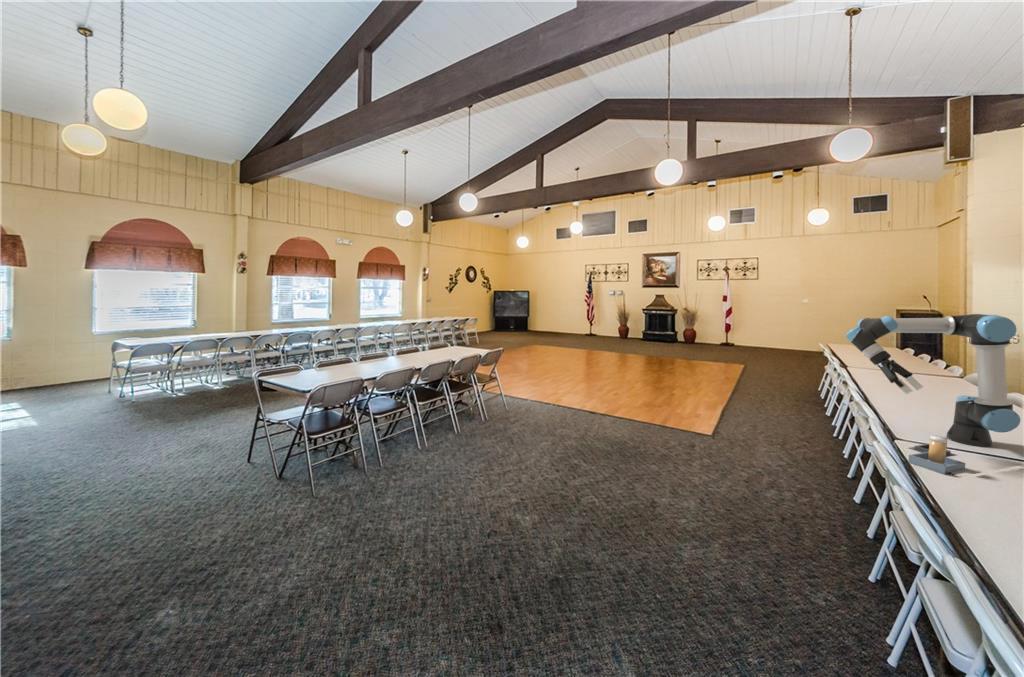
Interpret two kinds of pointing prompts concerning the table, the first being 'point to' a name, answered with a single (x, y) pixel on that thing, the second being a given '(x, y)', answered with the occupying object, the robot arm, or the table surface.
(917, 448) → the block
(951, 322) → the robot arm
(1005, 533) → the table surface
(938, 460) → the ball
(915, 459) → the parts tray
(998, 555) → the table surface
